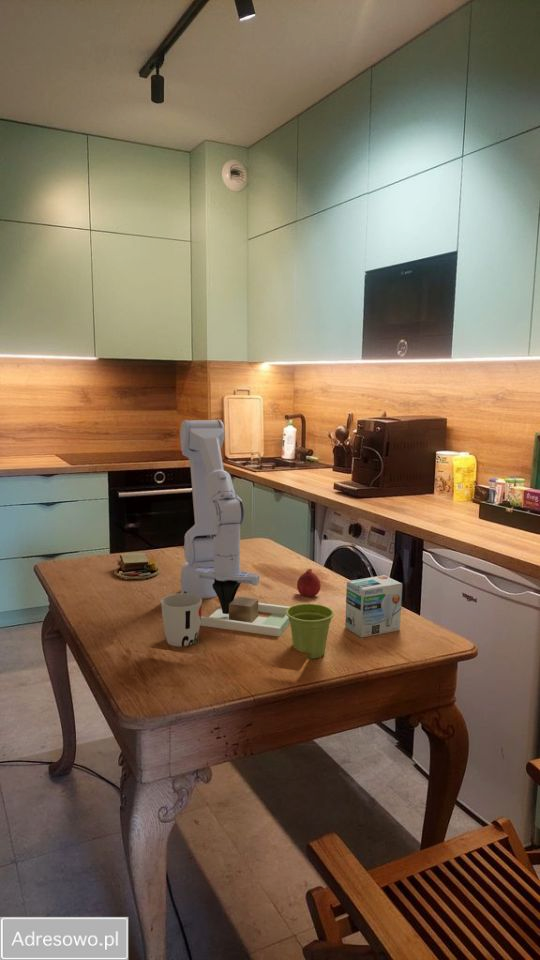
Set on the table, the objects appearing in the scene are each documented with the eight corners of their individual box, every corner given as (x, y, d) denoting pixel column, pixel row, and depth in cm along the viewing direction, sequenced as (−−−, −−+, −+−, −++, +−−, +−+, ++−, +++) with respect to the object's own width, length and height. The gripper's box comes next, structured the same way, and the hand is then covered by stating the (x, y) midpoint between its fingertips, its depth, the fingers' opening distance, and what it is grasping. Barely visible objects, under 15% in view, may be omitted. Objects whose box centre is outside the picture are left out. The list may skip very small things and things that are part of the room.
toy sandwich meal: (114, 582, 171) (113, 565, 170) (114, 568, 184) (114, 552, 183) (161, 580, 174) (161, 563, 173) (158, 566, 187) (158, 550, 186)
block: (228, 621, 140) (228, 603, 139) (237, 613, 145) (237, 596, 144) (250, 624, 139) (250, 606, 138) (258, 616, 143) (258, 599, 143)
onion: (318, 604, 155) (319, 573, 154) (295, 602, 156) (295, 571, 155) (321, 596, 161) (322, 566, 160) (298, 595, 162) (299, 564, 161)
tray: (199, 631, 138) (199, 617, 138) (222, 611, 150) (222, 598, 150) (279, 643, 133) (279, 628, 132) (296, 621, 145) (296, 607, 144)
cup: (184, 659, 125) (184, 610, 123) (153, 649, 129) (152, 601, 127) (210, 644, 131) (210, 598, 130) (179, 636, 136) (179, 590, 134)
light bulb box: (361, 638, 136) (363, 589, 134) (343, 627, 142) (345, 580, 140) (401, 630, 141) (403, 582, 139) (382, 619, 146) (384, 574, 145)
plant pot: (298, 666, 122) (299, 623, 121) (277, 647, 131) (278, 606, 129) (341, 658, 126) (342, 616, 124) (318, 640, 134) (319, 601, 133)
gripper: (188, 554, 139) (189, 614, 141) (251, 561, 135) (251, 622, 137) (202, 546, 146) (202, 603, 148) (262, 552, 141) (262, 611, 143)
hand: (226, 612), depth 143 cm, fingers closed
